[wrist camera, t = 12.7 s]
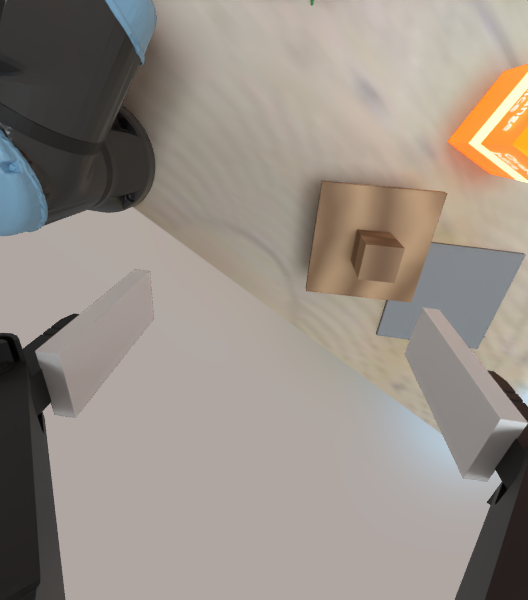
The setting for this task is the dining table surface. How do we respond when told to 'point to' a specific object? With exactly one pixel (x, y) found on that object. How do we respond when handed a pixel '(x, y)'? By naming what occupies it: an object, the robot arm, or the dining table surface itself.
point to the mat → (455, 291)
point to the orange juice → (499, 128)
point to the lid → (372, 240)
